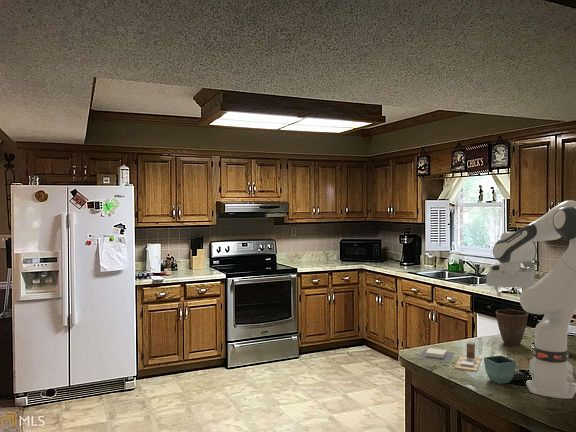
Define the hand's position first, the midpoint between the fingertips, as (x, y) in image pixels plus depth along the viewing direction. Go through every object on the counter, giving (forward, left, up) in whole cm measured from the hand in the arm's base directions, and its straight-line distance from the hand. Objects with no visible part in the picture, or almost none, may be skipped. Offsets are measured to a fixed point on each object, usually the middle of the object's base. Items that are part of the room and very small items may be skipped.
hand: (510, 296), depth 227 cm
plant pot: (+27, +1, -29) cm, 39 cm away
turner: (-17, +16, -28) cm, 36 cm away
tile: (-8, +31, -27) cm, 42 cm away
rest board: (-17, +16, -28) cm, 37 cm away
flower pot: (-35, +2, -29) cm, 45 cm away
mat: (-12, +31, -28) cm, 44 cm away
